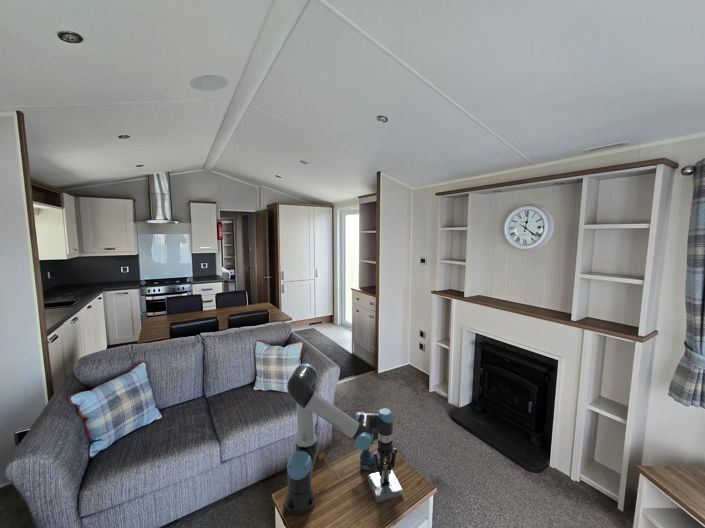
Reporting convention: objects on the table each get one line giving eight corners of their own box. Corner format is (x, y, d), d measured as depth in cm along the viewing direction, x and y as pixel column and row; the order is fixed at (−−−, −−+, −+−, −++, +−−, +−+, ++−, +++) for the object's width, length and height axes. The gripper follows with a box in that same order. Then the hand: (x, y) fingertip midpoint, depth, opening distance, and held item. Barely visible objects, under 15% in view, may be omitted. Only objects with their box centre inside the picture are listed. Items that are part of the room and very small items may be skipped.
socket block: (376, 502, 157) (376, 495, 157) (367, 480, 170) (367, 474, 170) (402, 495, 161) (402, 489, 161) (391, 475, 174) (391, 469, 174)
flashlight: (379, 480, 168) (379, 459, 167) (385, 478, 169) (385, 458, 168) (383, 489, 162) (384, 468, 161) (390, 488, 163) (390, 467, 161)
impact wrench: (390, 475, 174) (390, 433, 171) (350, 468, 179) (350, 428, 176) (391, 464, 182) (391, 424, 179) (353, 458, 187) (353, 419, 184)
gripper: (373, 446, 157) (373, 489, 159) (402, 440, 161) (401, 482, 164) (368, 437, 164) (368, 478, 167) (396, 431, 168) (395, 471, 171)
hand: (384, 480), depth 165 cm, fingers closed on flashlight, 2 cm apart
